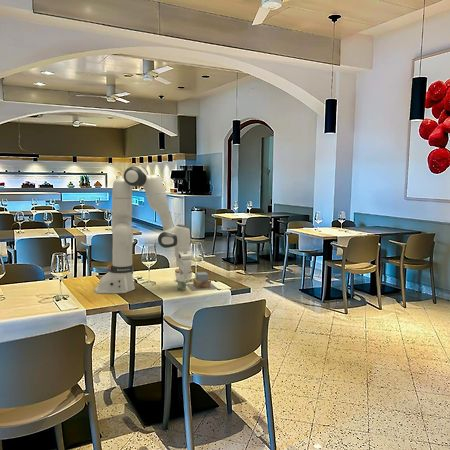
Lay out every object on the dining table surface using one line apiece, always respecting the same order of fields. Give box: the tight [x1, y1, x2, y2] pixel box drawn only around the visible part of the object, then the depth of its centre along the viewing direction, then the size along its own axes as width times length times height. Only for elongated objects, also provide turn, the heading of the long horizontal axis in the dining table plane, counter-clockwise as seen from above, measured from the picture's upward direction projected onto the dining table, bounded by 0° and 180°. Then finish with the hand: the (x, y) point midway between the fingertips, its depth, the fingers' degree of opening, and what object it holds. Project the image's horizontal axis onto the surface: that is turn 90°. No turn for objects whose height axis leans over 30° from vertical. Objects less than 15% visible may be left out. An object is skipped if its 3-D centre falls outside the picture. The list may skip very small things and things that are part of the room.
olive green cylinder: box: [177, 281, 187, 292], centre depth 248 cm, size 5×5×5 cm
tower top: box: [194, 271, 209, 282], centre depth 255 cm, size 6×6×4 cm
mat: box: [186, 282, 219, 292], centre depth 256 cm, size 16×16×1 cm
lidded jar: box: [174, 268, 193, 283], centre depth 268 cm, size 11×11×9 cm
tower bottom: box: [192, 278, 211, 289], centre depth 256 cm, size 8×8×4 cm
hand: (183, 276), depth 247 cm, fingers open, 8 cm apart
